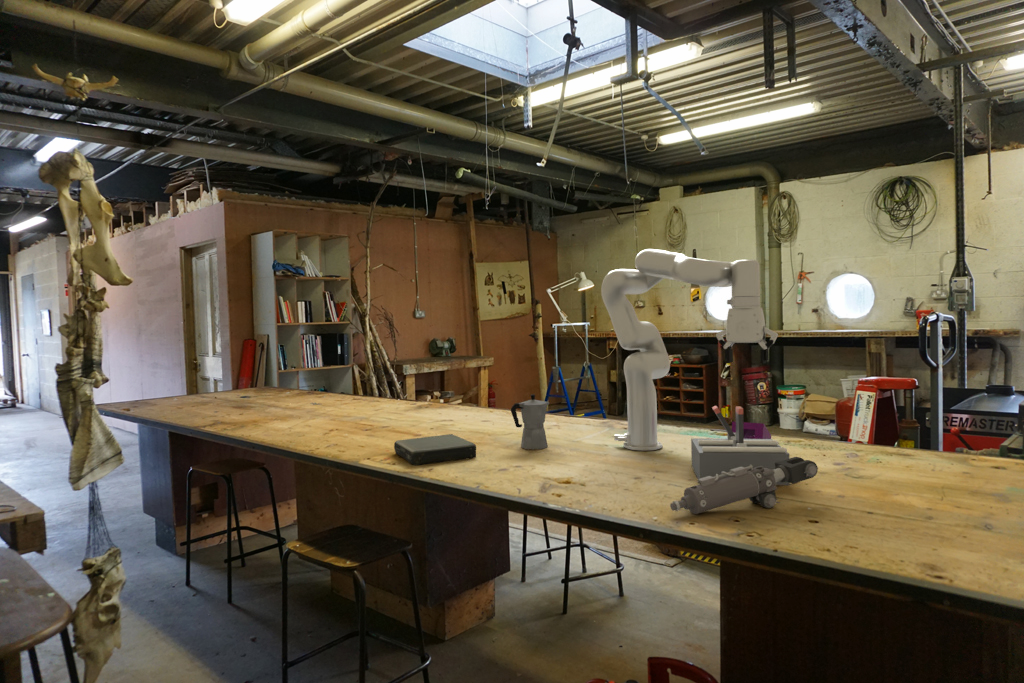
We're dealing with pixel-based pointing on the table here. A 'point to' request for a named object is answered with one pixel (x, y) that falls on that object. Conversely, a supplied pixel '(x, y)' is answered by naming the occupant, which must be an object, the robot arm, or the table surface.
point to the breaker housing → (734, 453)
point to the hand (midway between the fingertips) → (746, 362)
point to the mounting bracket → (753, 430)
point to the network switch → (434, 449)
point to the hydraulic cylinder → (744, 485)
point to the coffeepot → (532, 423)
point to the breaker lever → (739, 425)
